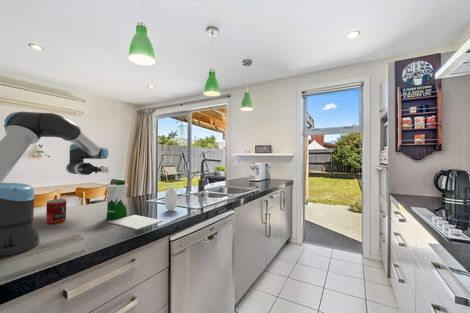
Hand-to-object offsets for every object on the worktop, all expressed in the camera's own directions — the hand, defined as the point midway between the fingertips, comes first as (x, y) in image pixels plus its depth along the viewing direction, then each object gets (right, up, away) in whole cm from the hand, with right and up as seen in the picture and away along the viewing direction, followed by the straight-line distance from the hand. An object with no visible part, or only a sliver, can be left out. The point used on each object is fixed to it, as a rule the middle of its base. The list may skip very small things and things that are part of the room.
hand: (106, 170), depth 122 cm
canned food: (-17, -26, -14) cm, 34 cm away
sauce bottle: (+34, -27, +11) cm, 45 cm away
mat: (+23, -26, -13) cm, 37 cm away
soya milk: (+9, -26, -5) cm, 28 cm away
